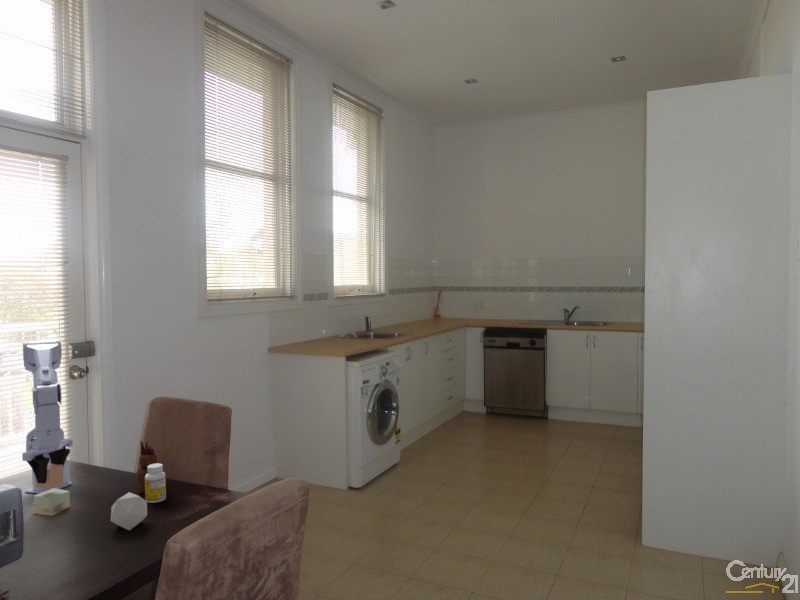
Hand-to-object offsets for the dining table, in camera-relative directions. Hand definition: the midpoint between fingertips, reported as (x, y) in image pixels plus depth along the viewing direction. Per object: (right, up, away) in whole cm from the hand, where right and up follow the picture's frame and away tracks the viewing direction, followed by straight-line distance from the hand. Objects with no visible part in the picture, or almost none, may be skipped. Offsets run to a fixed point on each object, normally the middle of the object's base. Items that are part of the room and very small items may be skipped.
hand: (49, 479), depth 159 cm
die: (+26, -9, -10) cm, 30 cm away
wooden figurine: (+21, -8, +14) cm, 26 cm away
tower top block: (0, -6, 0) cm, 6 cm away
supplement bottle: (+25, -8, +7) cm, 28 cm away
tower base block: (0, -9, 0) cm, 9 cm away
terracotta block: (0, -1, 0) cm, 1 cm away
